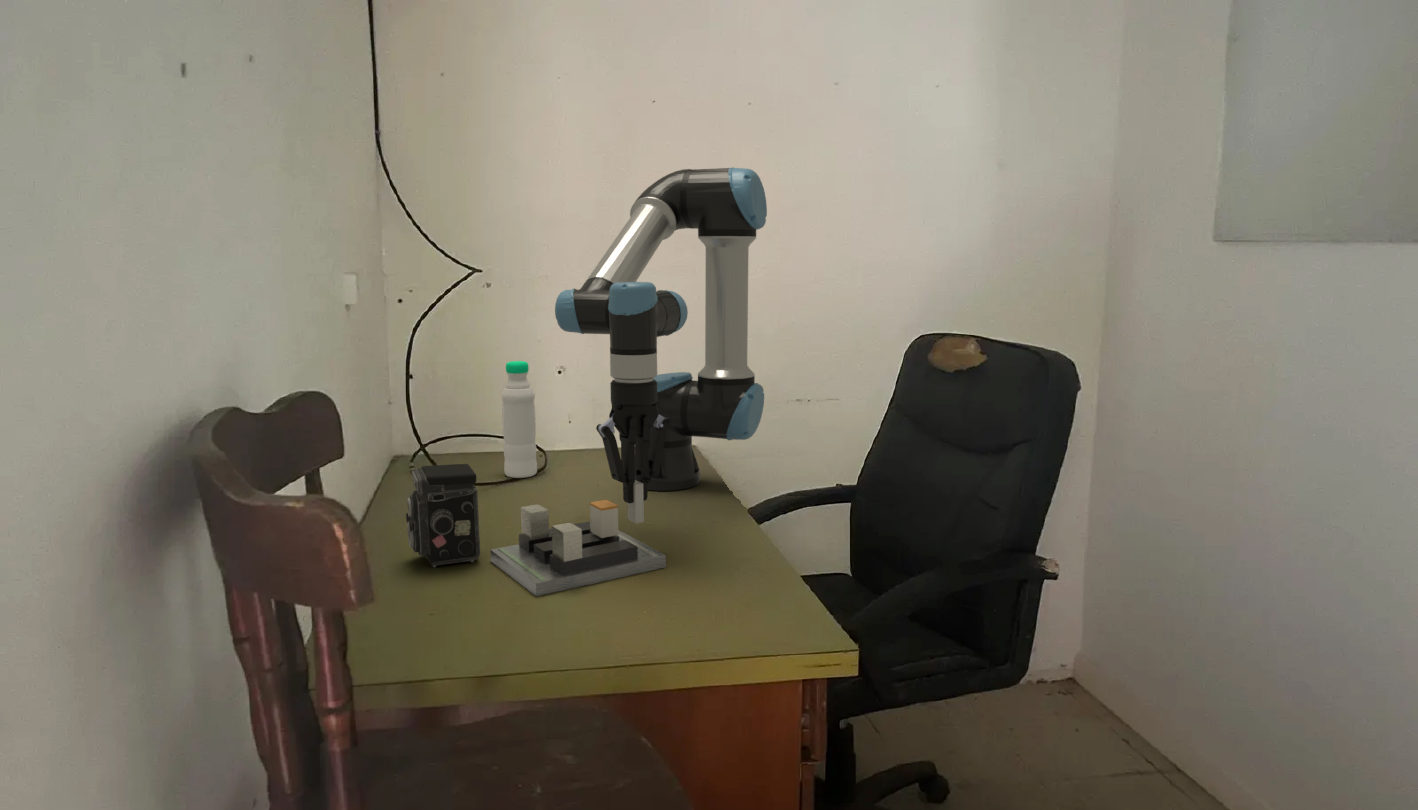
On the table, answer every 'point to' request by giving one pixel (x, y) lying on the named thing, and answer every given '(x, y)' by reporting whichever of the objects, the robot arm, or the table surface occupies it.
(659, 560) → the panel
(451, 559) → the camera
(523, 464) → the water bottle
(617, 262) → the robot arm
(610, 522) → the block
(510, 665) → the table surface
